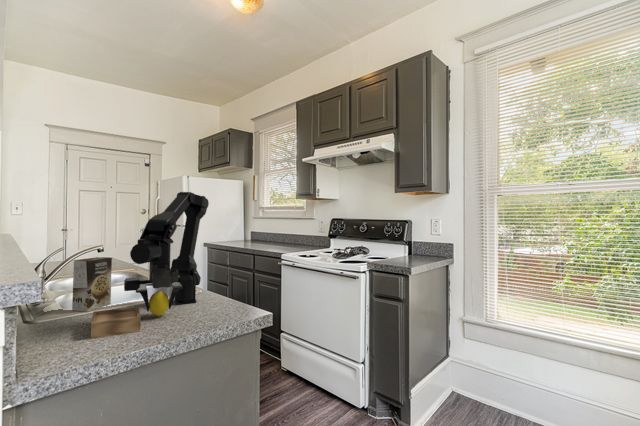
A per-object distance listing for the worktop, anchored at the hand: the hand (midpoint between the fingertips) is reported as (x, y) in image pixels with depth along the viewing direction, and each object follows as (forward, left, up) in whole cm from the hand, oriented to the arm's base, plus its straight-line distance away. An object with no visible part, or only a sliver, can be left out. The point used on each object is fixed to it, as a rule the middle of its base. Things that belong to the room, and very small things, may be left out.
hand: (158, 309), depth 102 cm
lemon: (0, 0, -2) cm, 2 cm away
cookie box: (+18, -20, -2) cm, 27 cm away
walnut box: (+11, +6, -2) cm, 13 cm away
